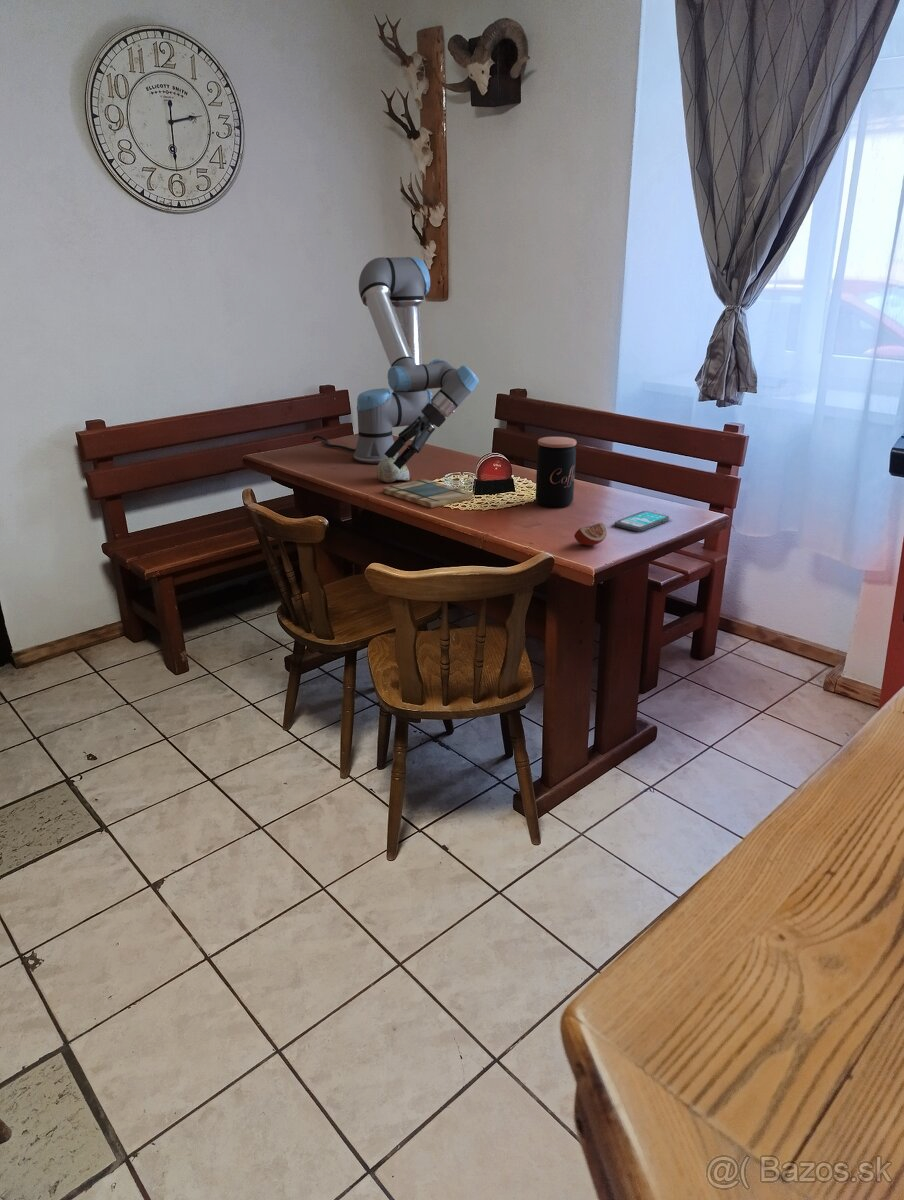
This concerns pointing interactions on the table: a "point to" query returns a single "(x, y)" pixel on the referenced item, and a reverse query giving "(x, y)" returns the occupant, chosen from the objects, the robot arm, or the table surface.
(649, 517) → the smartphone
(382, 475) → the seashell
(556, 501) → the coffee jar
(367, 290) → the robot arm
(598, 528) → the fruit slice
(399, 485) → the board
